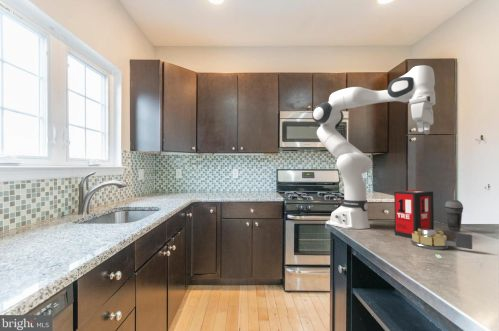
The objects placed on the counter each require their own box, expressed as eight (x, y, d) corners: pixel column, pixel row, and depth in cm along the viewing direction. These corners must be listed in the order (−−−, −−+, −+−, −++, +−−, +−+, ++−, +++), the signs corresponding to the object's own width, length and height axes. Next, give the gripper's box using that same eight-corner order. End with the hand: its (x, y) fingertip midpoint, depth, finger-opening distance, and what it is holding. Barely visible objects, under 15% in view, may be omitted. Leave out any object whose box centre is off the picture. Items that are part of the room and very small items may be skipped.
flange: (406, 244, 102) (406, 229, 102) (416, 239, 109) (416, 225, 110) (443, 252, 93) (443, 235, 93) (451, 245, 100) (451, 230, 100)
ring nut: (409, 241, 101) (409, 229, 101) (416, 236, 109) (416, 225, 109) (471, 252, 88) (470, 237, 88) (473, 245, 96) (473, 232, 96)
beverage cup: (458, 229, 127) (457, 189, 127) (467, 233, 120) (466, 191, 120) (441, 229, 129) (441, 189, 129) (449, 232, 121) (448, 190, 122)
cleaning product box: (415, 239, 109) (414, 193, 110) (394, 235, 117) (394, 191, 117) (433, 234, 118) (433, 191, 118) (413, 230, 126) (412, 190, 126)
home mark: (435, 254, 89) (435, 254, 89) (439, 255, 89) (439, 254, 89) (438, 258, 86) (438, 257, 86) (442, 258, 85) (442, 258, 85)
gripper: (421, 107, 122) (421, 135, 121) (408, 99, 108) (408, 131, 107) (437, 104, 117) (437, 134, 117) (425, 95, 103) (426, 129, 103)
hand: (423, 133), depth 112 cm, fingers open, 8 cm apart
